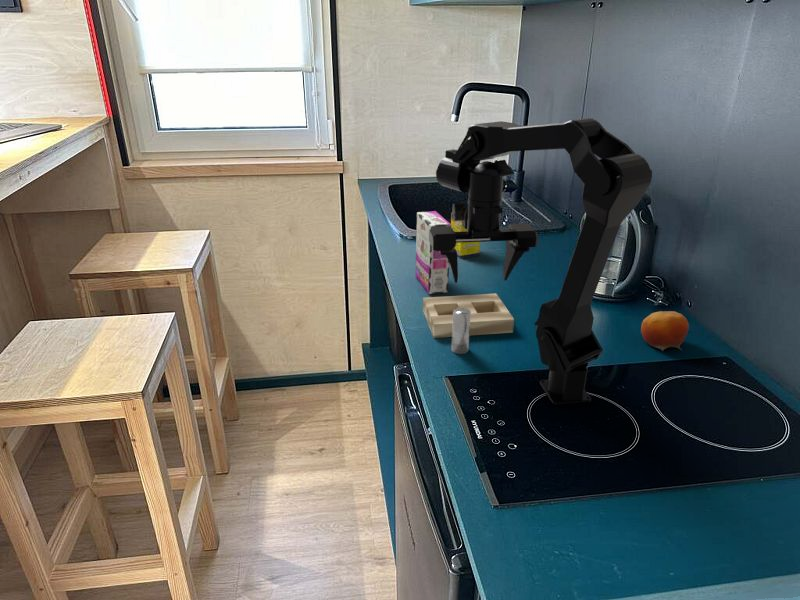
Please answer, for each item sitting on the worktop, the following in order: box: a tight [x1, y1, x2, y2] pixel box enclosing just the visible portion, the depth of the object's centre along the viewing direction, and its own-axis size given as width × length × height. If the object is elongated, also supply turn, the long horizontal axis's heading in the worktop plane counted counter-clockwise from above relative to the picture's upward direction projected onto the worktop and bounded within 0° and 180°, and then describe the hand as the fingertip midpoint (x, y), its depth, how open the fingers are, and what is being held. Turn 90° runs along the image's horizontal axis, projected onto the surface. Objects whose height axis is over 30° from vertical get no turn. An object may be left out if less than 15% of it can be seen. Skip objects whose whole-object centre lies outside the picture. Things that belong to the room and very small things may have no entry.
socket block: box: [422, 293, 515, 339], centre depth 115 cm, size 12×16×3 cm
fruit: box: [640, 310, 690, 352], centre depth 106 cm, size 8×8×8 cm
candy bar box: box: [415, 210, 452, 295], centre depth 129 cm, size 11×5×16 cm, turn 15°
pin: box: [450, 308, 471, 355], centre depth 104 cm, size 3×3×8 cm
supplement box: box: [450, 212, 481, 259], centre depth 149 cm, size 6×6×11 cm
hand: (480, 280), depth 104 cm, fingers open, 9 cm apart
